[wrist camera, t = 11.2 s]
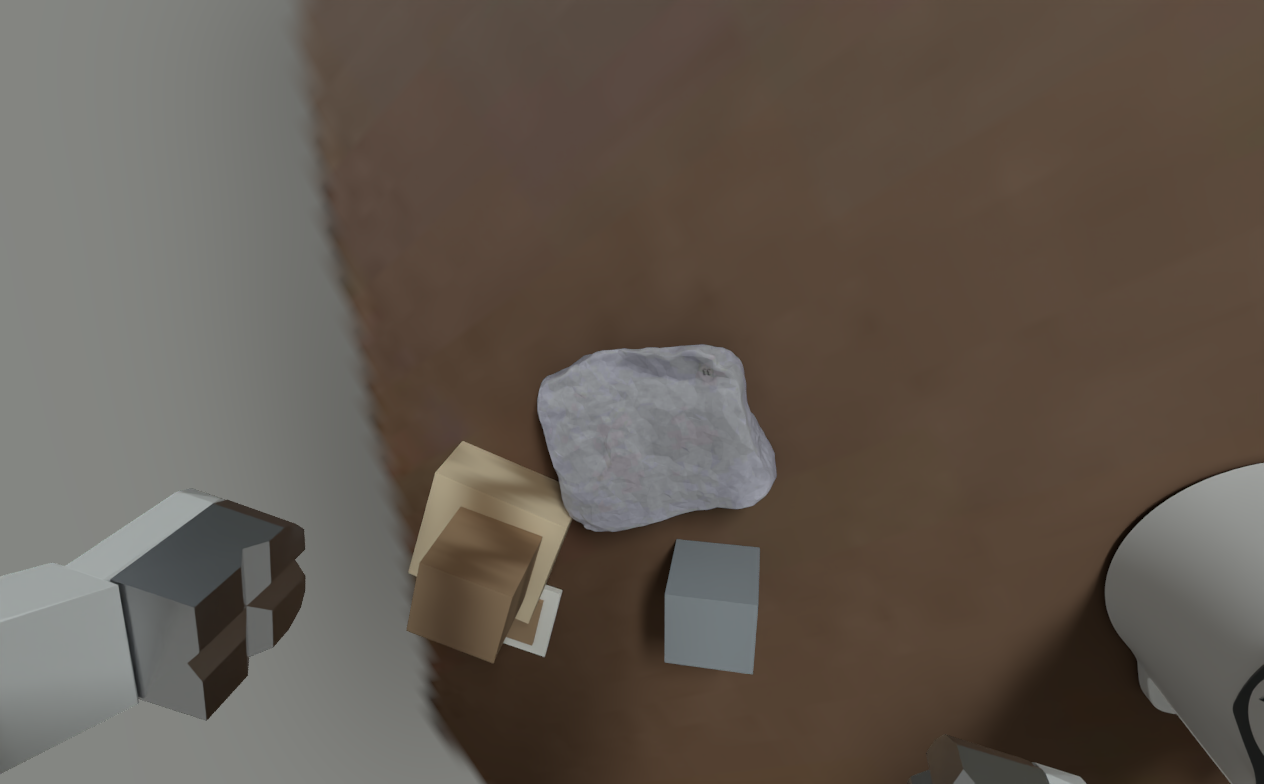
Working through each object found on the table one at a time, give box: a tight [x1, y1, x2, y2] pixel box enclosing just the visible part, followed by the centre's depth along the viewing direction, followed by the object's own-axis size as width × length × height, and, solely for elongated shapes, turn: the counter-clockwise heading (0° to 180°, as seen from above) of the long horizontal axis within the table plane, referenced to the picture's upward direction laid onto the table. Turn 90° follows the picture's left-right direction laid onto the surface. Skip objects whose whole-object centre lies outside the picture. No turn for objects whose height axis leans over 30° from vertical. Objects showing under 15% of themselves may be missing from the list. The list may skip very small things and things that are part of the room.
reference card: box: [503, 585, 563, 657], centre depth 45 cm, size 6×6×1 cm
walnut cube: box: [407, 507, 543, 663], centre depth 37 cm, size 5×5×5 cm
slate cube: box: [665, 539, 760, 674], centre depth 39 cm, size 5×5×5 cm
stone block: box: [537, 344, 776, 532], centre depth 37 cm, size 12×5×10 cm
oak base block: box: [408, 441, 573, 624], centre depth 41 cm, size 8×8×4 cm
